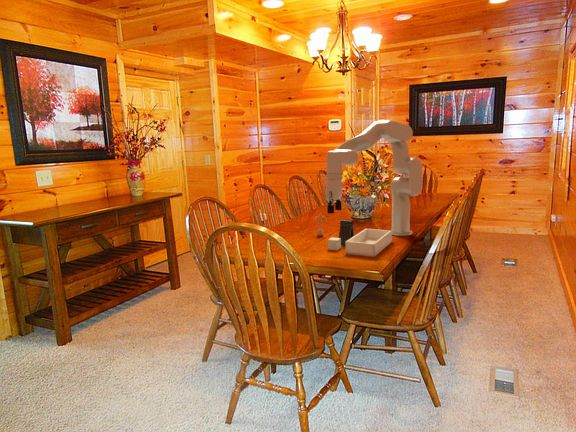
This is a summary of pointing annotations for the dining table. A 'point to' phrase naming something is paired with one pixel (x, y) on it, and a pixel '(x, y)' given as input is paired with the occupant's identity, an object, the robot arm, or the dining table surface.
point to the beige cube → (334, 243)
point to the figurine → (320, 230)
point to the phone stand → (346, 230)
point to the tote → (368, 242)
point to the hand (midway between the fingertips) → (334, 211)
